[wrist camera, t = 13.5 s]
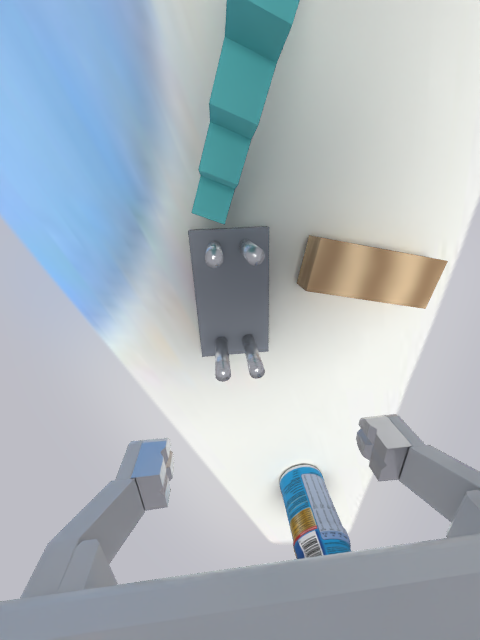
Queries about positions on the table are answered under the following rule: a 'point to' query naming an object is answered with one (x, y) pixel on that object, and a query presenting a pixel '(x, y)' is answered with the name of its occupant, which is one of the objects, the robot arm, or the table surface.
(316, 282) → the brown wooden block
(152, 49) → the table surface
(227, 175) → the alien figure
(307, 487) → the beverage bottle
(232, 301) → the peg rack
